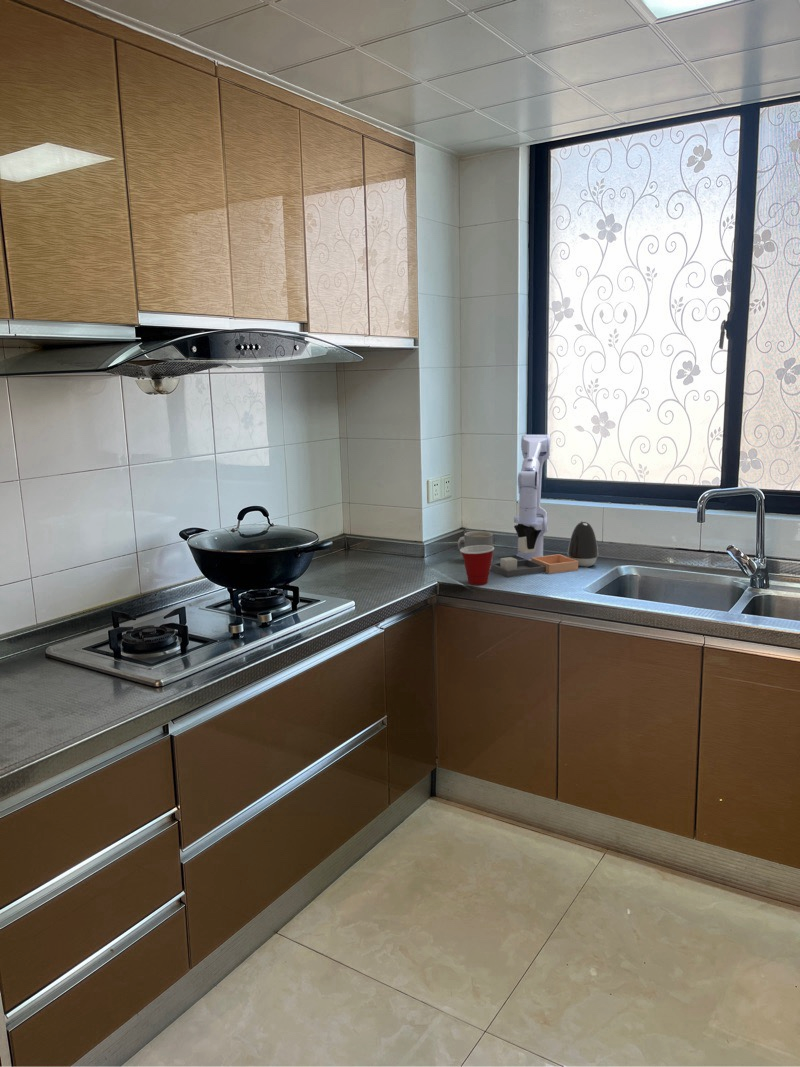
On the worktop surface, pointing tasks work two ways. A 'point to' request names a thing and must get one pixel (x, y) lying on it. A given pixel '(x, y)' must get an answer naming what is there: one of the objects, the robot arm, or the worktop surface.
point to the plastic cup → (477, 563)
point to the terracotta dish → (556, 563)
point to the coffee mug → (476, 539)
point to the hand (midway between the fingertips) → (527, 547)
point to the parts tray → (520, 568)
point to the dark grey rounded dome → (583, 545)
